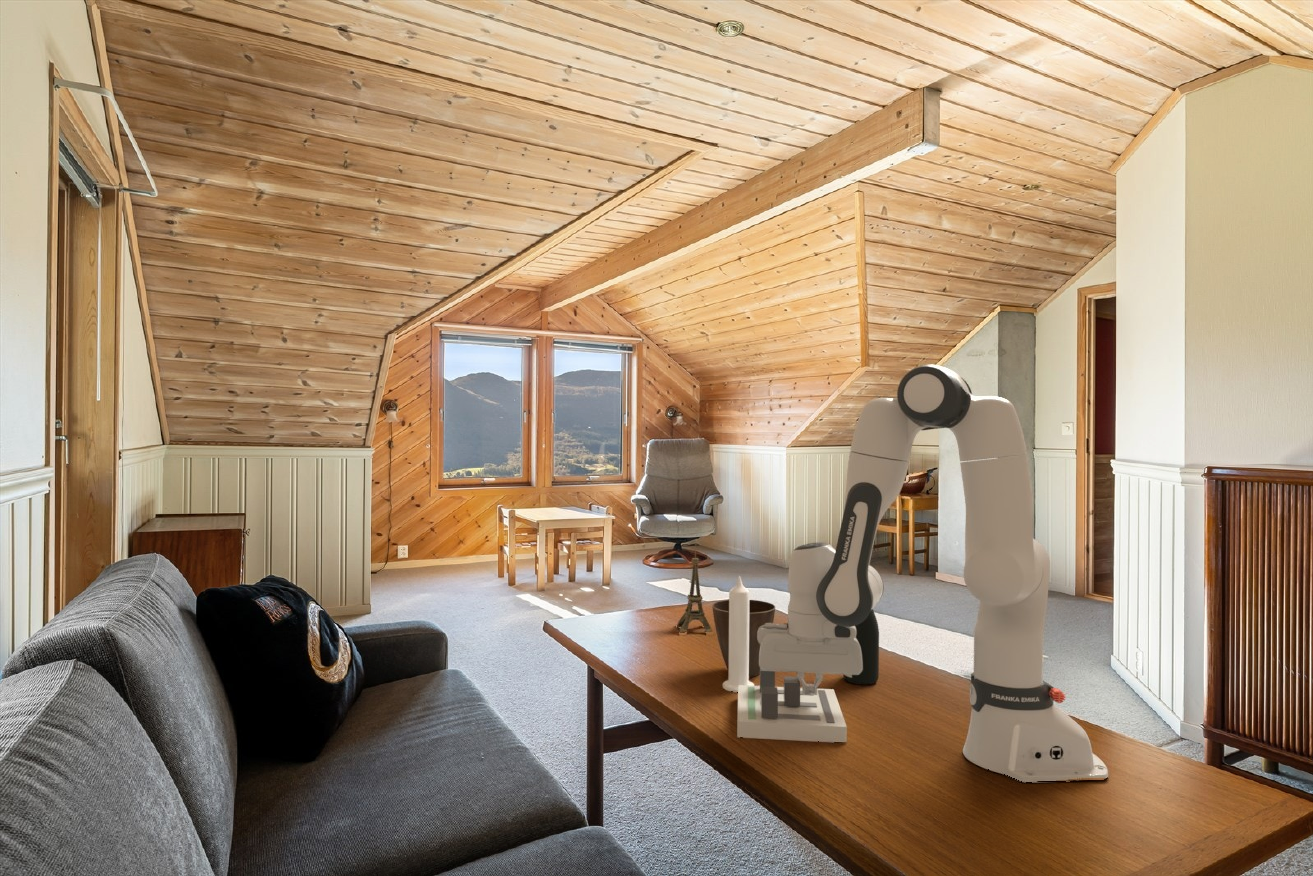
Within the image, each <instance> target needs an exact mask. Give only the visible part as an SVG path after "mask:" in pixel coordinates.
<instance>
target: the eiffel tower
mask: <svg viewBox="0 0 1313 876" xmlns="http://www.w3.org/2000/svg"><path fill="white" fill-rule="evenodd" d="M696 544H697V543H696ZM696 544H694V546H695V548H694V557H692V558H691V563H692V573H691V581H690V588H689V594H687V599H688V600H687V606H686V608H685V609H684V611H685V612H684V613H683V614H682V616H681V617H680V619H679V620H678V622H677V624H676V625H677V627H681V628H679V630H678V632H680V633H685V632H688V629H689V625H690V624H691V622H692V621H699V622H700V623H701V624H703V626H704V628H703V629H704V633H705V632H714V631H713V627H712V625H711V624H710V623H709V621H708V619H707V617H706V616H705V615H706V612H705V611H704V609H703V603H702V601H703V596H702V594H701V589H700V588H701V587H700V579H699V567H698V566H699V563H700V561H699V558H698V557H697V549H696V548H697V545H696ZM695 590H696V592H695ZM695 593H696V594H695ZM693 604H697V608H698V609H693ZM710 625H711V626H710ZM711 627H712V628H711Z"/></svg>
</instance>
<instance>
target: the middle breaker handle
mask: <svg viewBox="0 0 1313 876" xmlns="http://www.w3.org/2000/svg"><path fill="white" fill-rule="evenodd" d="M783 687H784V704H785V705H792V706H800V688H801V683H800V681H799V679H798V678H797V676H783Z"/></svg>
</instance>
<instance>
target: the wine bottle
mask: <svg viewBox="0 0 1313 876" xmlns="http://www.w3.org/2000/svg"><path fill="white" fill-rule="evenodd" d="M855 627H856V639H857V640H858V642H859V644H860V647H861V652H862V661H863V670H862V672H861V673H860V674H859V675H849V674H842V676H843V678H844V680H845V681H847V682H849V683H852V684H854V685H855V684H856V685H862V686H864V685H872V684H874V683H877V682H878V680H879V674H880V673H879V670H880V666H879V665H880V660H879V659H880V658H879V657H880V653H879V652H880V651H879V650H880V629H879V624H878V620H877V616H876V615H875V612H874V608H873V609H872V610H871V611H870V613H869V615H868V617H867V618H866V619H865V620H864V621H863V622H862V623H860V624H858V625H856V626H855Z"/></svg>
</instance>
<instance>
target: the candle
mask: <svg viewBox="0 0 1313 876" xmlns="http://www.w3.org/2000/svg"><path fill="white" fill-rule="evenodd" d="M743 584H744V583H743V581H742V577H741V576H740V575H738V577H737V581H736V584H735V585H734V586H733V587H732V588H731V589H729V591H728V593H729V594H728V600H729V672H728V679H727V680H724V681H723V682H722V688H723V689H724V690H725V691H728V692H731V691H733V692H732V693H737V692H738V685H749V686H755V683H754V682H752V681H751V680H749V679H750V677H749V600H750V590H749V589H748V588H746V587H745V586H744V585H743Z"/></svg>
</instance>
